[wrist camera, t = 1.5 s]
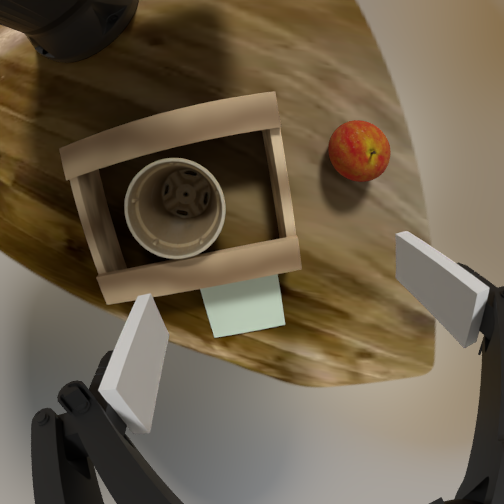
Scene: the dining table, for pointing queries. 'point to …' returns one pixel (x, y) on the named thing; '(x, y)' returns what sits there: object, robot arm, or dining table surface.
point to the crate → (165, 137)
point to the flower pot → (174, 208)
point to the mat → (244, 306)
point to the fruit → (359, 151)
